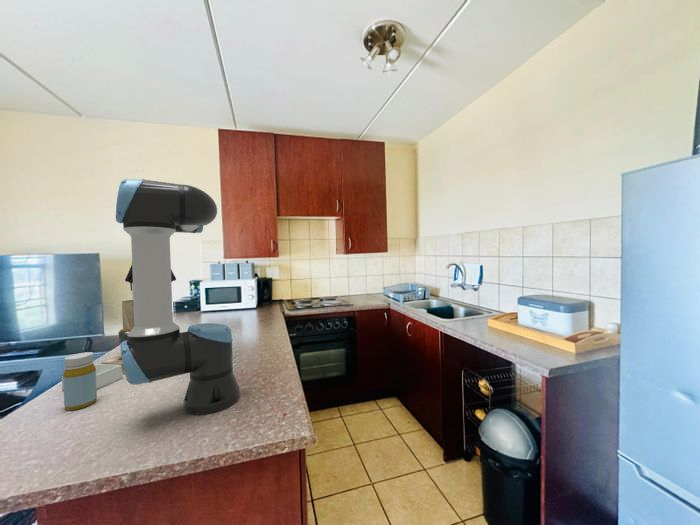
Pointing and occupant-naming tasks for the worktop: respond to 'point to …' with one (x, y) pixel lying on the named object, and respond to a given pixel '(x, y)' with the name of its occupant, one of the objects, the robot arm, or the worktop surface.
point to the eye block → (115, 362)
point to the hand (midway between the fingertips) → (151, 298)
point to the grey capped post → (123, 335)
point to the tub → (105, 375)
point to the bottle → (79, 381)
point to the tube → (128, 314)
